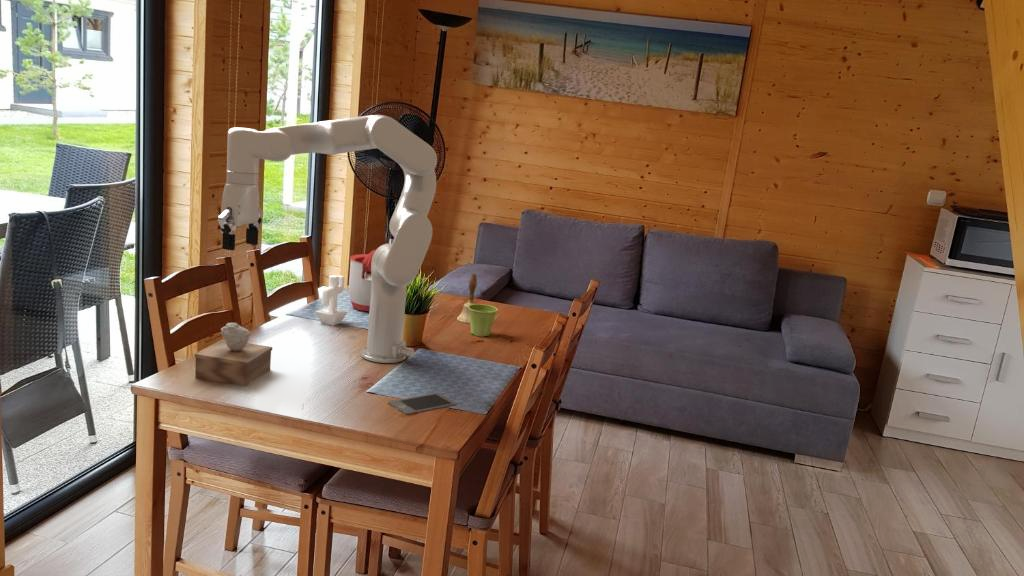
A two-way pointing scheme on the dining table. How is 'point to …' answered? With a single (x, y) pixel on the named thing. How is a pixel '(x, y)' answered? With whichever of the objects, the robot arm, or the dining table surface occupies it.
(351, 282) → the citrus juicer
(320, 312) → the figurine
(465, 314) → the hand bell
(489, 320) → the plant pot
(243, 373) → the walnut box
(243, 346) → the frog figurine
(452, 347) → the dining table surface
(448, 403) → the smartphone
